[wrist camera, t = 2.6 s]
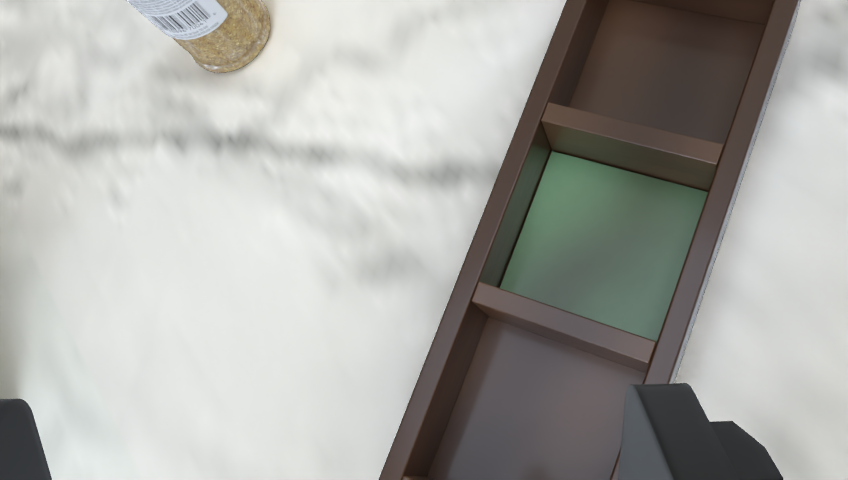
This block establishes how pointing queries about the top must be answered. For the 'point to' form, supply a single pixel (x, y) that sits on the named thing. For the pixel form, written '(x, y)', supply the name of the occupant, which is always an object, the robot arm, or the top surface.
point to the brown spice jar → (212, 28)
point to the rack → (594, 239)
